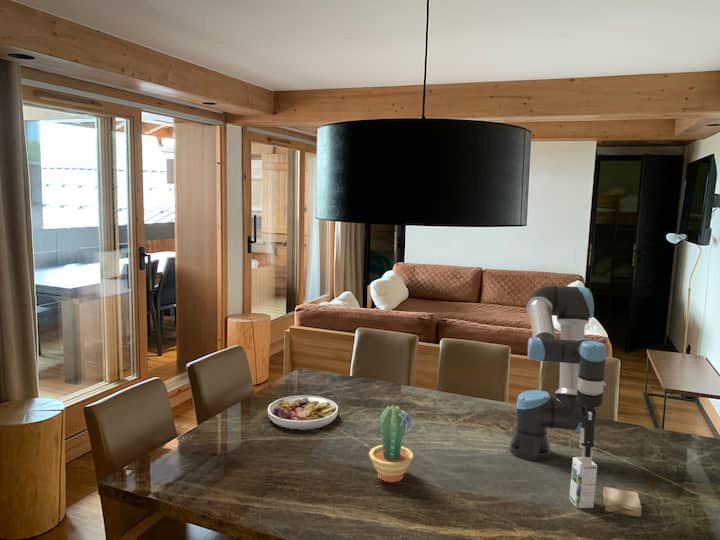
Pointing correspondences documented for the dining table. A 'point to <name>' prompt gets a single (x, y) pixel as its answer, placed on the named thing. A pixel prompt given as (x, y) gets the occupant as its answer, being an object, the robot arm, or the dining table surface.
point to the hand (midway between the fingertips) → (585, 456)
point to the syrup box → (582, 484)
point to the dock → (622, 501)
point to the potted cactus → (392, 445)
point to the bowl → (302, 412)
